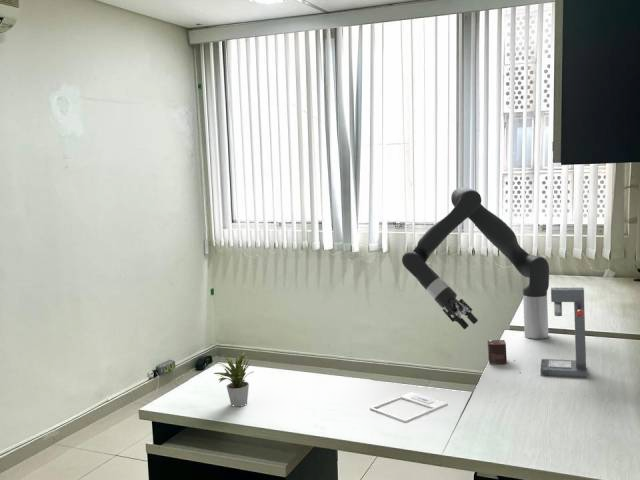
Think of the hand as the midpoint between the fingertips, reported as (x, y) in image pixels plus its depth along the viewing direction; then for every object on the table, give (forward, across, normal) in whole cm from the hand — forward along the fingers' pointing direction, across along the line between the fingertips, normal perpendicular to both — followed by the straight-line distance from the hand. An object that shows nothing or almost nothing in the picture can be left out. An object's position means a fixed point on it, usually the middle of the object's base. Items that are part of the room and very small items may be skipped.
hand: (471, 324), depth 222 cm
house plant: (-25, -74, +43) cm, 89 cm away
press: (+32, -4, -14) cm, 36 cm away
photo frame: (+11, -53, +8) cm, 55 cm away
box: (+16, 0, +3) cm, 16 cm away
